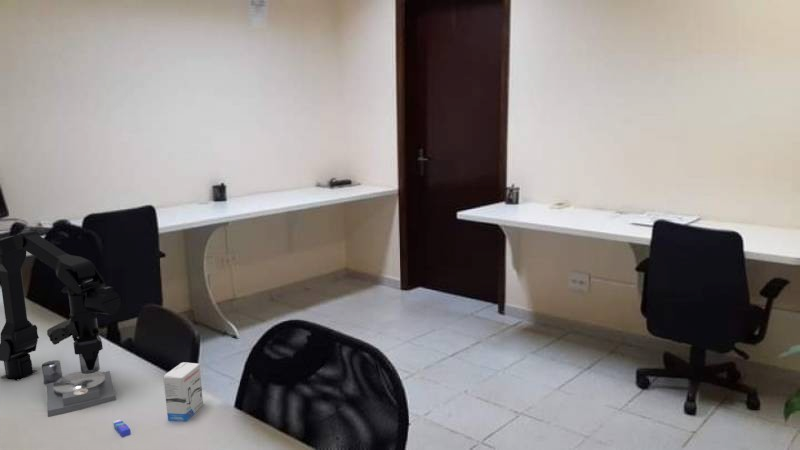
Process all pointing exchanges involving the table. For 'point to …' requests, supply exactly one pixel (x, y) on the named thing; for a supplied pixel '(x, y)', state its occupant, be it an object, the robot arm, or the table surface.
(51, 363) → the cylinder
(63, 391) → the scale pan
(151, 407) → the table surface
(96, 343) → the robot arm
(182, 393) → the ink box
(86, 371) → the cylinder
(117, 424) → the eraser
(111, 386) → the scale
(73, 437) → the table surface
